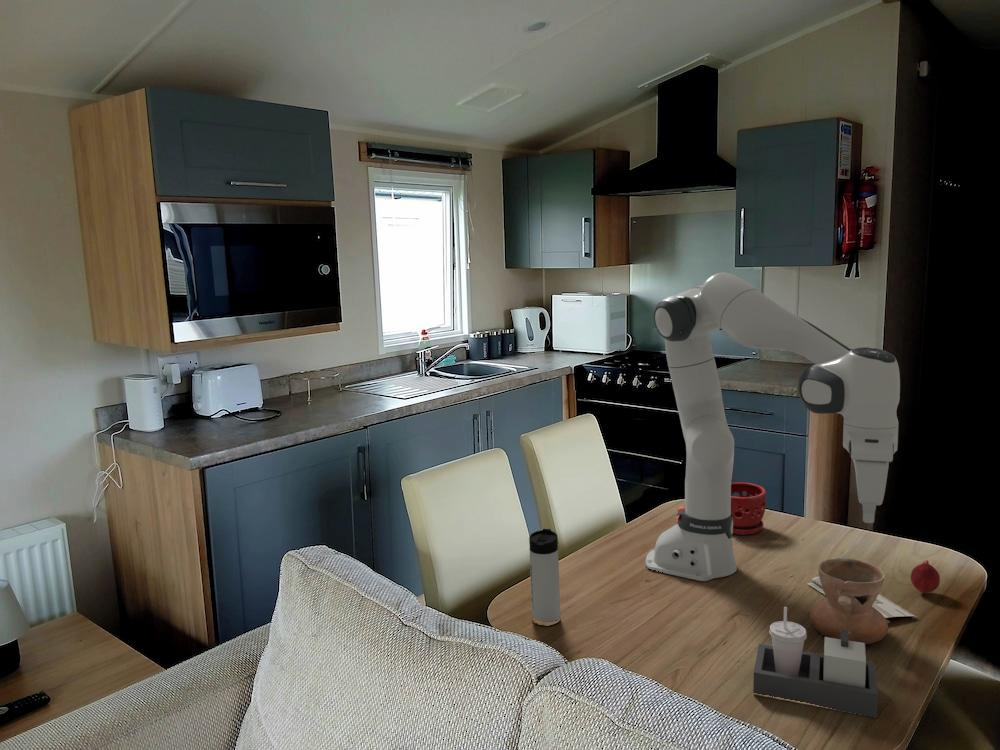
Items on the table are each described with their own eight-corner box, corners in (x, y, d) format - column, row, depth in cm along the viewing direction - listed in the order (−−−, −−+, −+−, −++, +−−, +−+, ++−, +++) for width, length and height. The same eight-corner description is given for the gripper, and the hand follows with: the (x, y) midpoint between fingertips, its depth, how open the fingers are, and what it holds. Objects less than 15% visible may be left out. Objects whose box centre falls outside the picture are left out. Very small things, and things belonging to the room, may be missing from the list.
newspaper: (804, 586, 179) (805, 575, 178) (849, 584, 181) (850, 574, 181) (868, 631, 157) (870, 620, 157) (919, 628, 159) (920, 617, 159)
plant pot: (719, 519, 222) (720, 480, 220) (767, 523, 217) (767, 483, 215) (713, 535, 210) (714, 494, 208) (763, 540, 205) (764, 498, 203)
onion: (943, 600, 168) (944, 566, 166) (914, 598, 169) (916, 565, 167) (933, 588, 173) (935, 555, 172) (906, 587, 174) (908, 554, 173)
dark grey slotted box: (753, 695, 136) (754, 643, 134) (761, 649, 151) (762, 603, 149) (876, 718, 128) (879, 664, 126) (872, 668, 143) (874, 619, 141)
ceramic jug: (882, 663, 144) (886, 593, 142) (802, 643, 152) (805, 577, 150) (891, 623, 159) (895, 559, 157) (818, 608, 167) (821, 547, 165)
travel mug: (563, 614, 169) (561, 529, 166) (556, 628, 163) (553, 540, 160) (537, 611, 171) (533, 527, 168) (528, 625, 165) (525, 538, 162)
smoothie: (762, 669, 142) (763, 600, 140) (795, 666, 143) (796, 597, 140) (778, 689, 136) (779, 617, 133) (812, 685, 136) (814, 613, 134)
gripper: (849, 424, 146) (847, 493, 148) (851, 452, 127) (849, 530, 129) (886, 426, 143) (883, 496, 145) (893, 455, 125) (890, 534, 127)
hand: (867, 512), depth 137 cm, fingers open, 8 cm apart
